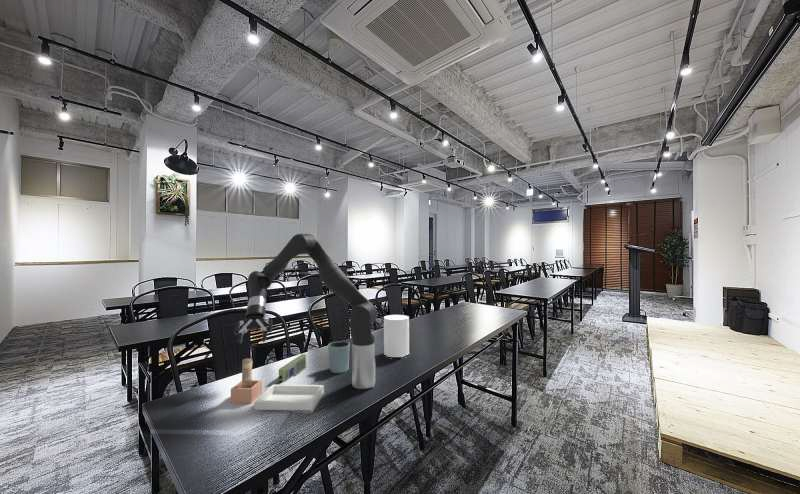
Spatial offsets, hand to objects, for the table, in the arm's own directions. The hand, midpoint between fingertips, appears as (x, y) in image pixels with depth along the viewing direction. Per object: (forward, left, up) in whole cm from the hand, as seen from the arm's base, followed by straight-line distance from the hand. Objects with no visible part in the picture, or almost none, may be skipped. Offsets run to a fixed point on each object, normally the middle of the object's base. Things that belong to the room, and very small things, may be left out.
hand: (251, 341), depth 123 cm
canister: (-57, -42, -19) cm, 73 cm away
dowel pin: (-4, +11, -17) cm, 21 cm away
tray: (-21, +12, -18) cm, 30 cm away
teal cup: (-31, -20, -19) cm, 41 cm away
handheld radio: (-12, -10, -19) cm, 24 cm away
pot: (-4, +11, -18) cm, 22 cm away
